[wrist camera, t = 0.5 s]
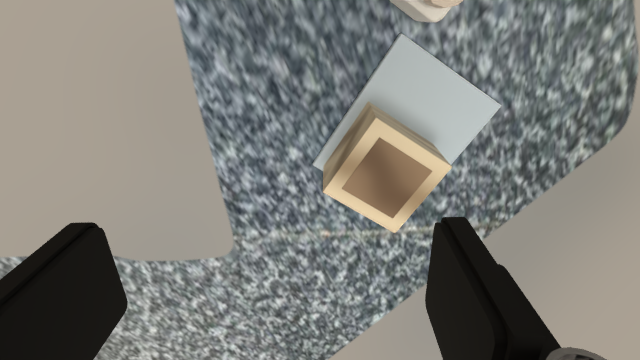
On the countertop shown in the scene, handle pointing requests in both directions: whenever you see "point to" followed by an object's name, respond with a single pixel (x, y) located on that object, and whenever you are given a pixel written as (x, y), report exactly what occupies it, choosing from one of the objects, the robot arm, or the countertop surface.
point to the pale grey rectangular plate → (420, 101)
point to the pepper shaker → (426, 8)
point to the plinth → (383, 168)
